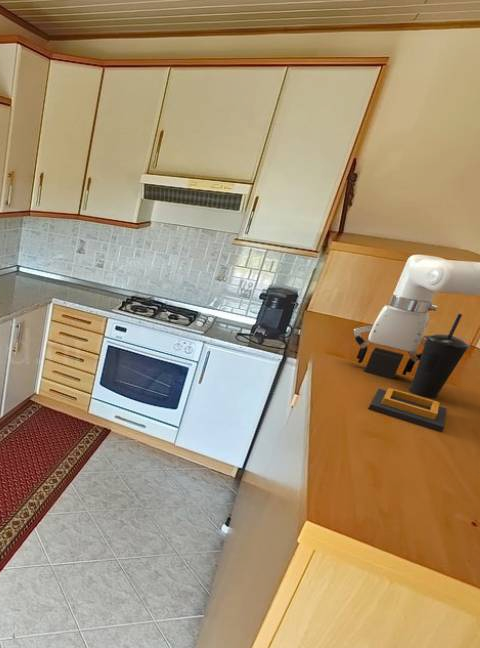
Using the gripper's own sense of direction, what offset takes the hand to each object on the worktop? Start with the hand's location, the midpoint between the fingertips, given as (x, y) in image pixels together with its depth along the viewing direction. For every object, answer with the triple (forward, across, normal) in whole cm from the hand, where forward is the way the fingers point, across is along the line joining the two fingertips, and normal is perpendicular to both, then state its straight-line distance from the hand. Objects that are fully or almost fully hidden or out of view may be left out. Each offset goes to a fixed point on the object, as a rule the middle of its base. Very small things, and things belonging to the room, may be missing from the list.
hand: (381, 367), depth 129 cm
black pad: (+1, 0, 0) cm, 1 cm away
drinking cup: (+2, -9, +9) cm, 13 cm away
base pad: (+1, -8, +27) cm, 28 cm away
